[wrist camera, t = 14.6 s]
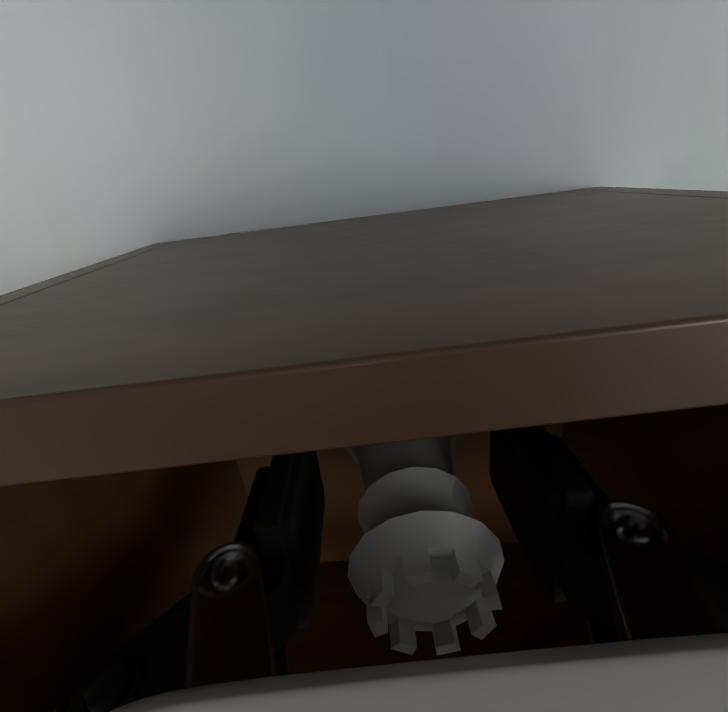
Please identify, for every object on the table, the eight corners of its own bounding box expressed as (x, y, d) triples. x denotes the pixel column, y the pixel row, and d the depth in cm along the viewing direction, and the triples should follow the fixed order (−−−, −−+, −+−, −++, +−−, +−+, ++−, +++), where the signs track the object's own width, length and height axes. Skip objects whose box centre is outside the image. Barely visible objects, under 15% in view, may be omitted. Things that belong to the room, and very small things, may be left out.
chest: (153, 243, 13) (-497, 461, 3) (601, 186, 12) (1529, 221, 3) (261, 565, 19) (167, 967, 10) (557, 534, 19) (778, 917, 9)
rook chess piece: (386, 316, 13) (427, 485, 6) (478, 387, 14) (605, 599, 7) (309, 405, 15) (266, 632, 7) (399, 463, 16) (439, 706, 9)
